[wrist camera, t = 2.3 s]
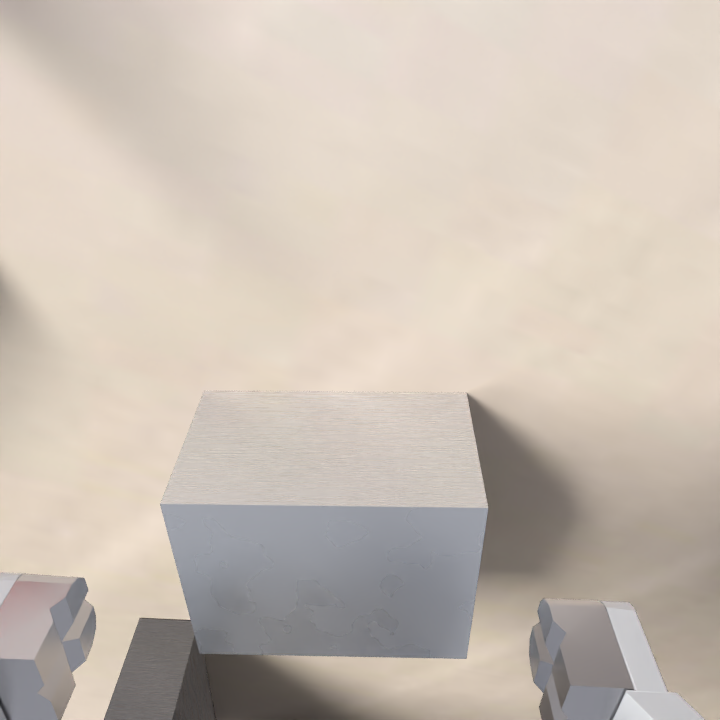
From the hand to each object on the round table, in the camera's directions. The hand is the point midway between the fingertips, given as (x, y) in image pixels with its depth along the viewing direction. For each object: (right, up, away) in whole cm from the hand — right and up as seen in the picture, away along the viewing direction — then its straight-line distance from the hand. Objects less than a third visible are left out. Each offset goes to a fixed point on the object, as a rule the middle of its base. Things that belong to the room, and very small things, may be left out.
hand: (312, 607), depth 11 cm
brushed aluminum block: (0, 0, +15) cm, 15 cm away
